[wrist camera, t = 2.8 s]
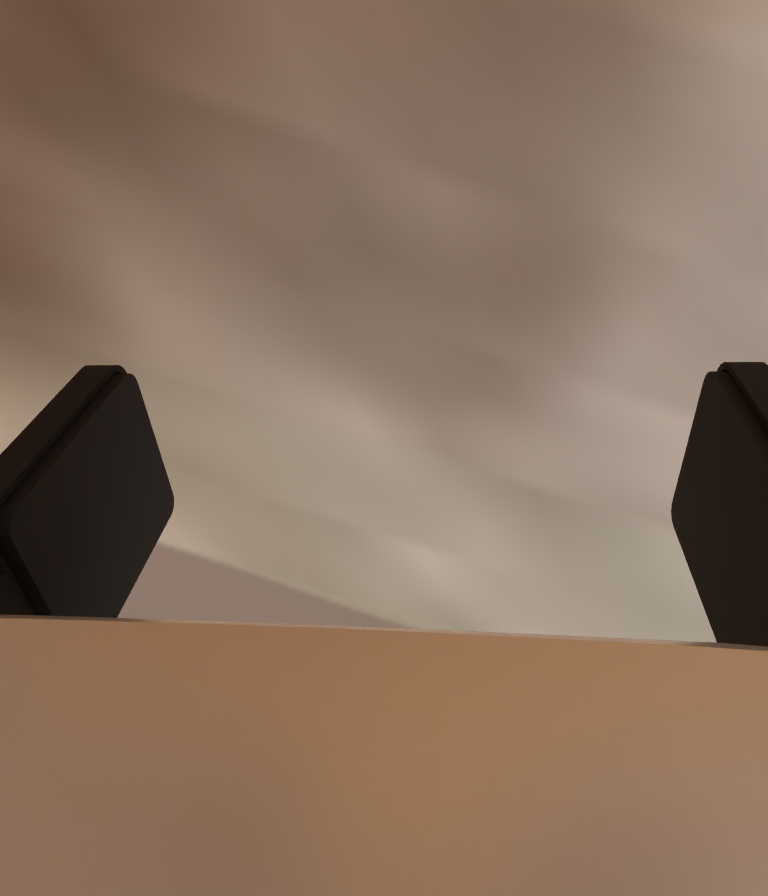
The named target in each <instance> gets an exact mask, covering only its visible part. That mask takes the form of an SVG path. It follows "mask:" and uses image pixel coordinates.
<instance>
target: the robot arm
mask: <svg viewBox="0 0 768 896" xmlns="http://www.w3.org/2000/svg"><path fill="white" fill-rule="evenodd" d="M173 507H174V496H173V492H172V489H171V486H170V482H169V479H168V476H167V473H166V470H165V467H164V464H163V460H162V457H161V454H160V451H159V448H158V445H157V442H156V438H155V435H154V432H153V429H152V426H151V423H150V420H149V417H148V413H147V410H146V407H145V404H144V401H143V398H142V395H141V391H140V388H139V385H138V382H137V380H136V378H135V377H134V375H132V374H127V372H126V371H125V370H124V368H123V367H121V366H119V365H89V366H84V367H83V368H81V370H80V371H79V372H78V373H77V374H76V375H75V376H74V377H73V378H72V379H71V380H70V381H69V382H68V383H67V384H66V385H65V387H64V388H63V389H62V390H61V391H60V392H59V393H58V394H57V395H56V396H55V397H54V398H53V399H52V400H51V401H50V402H49V404H48V405H47V406H46V407H45V408H44V409H43V410H42V411H41V412H40V413H39V414H38V415H37V416H36V417H35V418H34V419H33V421H32V422H31V423H30V424H29V425H28V426H27V427H26V428H25V429H24V430H23V431H22V432H21V433H20V434H19V435H18V436H17V438H16V439H15V440H14V441H13V442H12V443H11V444H10V445H9V446H8V447H7V448H6V449H5V450H4V451H3V452H2V453H1V455H0V896H768V365H767V364H766V363H764V362H724V363H722V364H721V365H720V366H719V368H718V370H717V372H708V373H707V375H706V376H705V379H704V382H703V385H702V389H701V393H700V397H699V401H698V405H697V409H696V412H695V416H694V420H693V424H692V428H691V432H690V436H689V440H688V443H687V447H686V451H685V455H684V459H683V463H682V467H681V470H680V474H679V478H678V482H677V486H676V490H675V494H674V498H673V502H672V509H671V514H672V522H673V526H674V529H675V531H676V534H677V537H678V539H679V542H680V545H681V547H682V550H683V553H684V555H685V558H686V561H687V564H688V566H689V569H690V572H691V574H692V577H693V580H694V582H695V585H696V588H697V590H698V593H699V596H700V598H701V601H702V604H703V606H704V609H705V612H706V614H707V617H708V620H709V622H710V625H711V628H712V630H713V633H714V636H715V638H716V641H717V643H710V642H687V641H668V640H649V639H629V638H607V637H584V636H562V635H540V634H518V633H496V632H474V631H451V630H427V629H402V628H377V627H353V626H326V625H302V624H275V623H250V622H249V623H248V622H221V621H189V620H161V619H133V618H132V619H131V618H117V617H118V615H119V613H120V611H121V609H122V607H123V605H124V603H125V602H126V599H127V598H128V596H129V594H130V592H131V590H132V588H133V586H134V584H135V582H136V581H137V579H138V577H139V575H140V573H141V571H142V569H143V567H144V566H145V564H146V562H147V560H148V558H149V556H150V554H151V552H152V550H153V548H154V547H155V545H156V543H157V541H158V539H159V537H160V535H161V533H162V532H163V530H164V528H165V526H166V524H167V522H168V520H169V518H170V516H171V514H172V512H173Z"/></svg>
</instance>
